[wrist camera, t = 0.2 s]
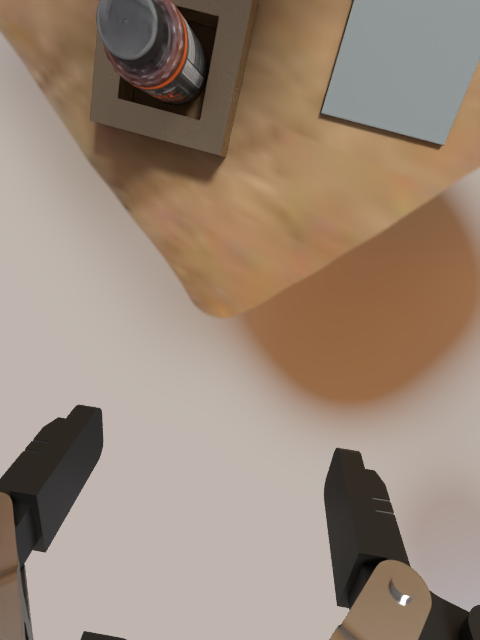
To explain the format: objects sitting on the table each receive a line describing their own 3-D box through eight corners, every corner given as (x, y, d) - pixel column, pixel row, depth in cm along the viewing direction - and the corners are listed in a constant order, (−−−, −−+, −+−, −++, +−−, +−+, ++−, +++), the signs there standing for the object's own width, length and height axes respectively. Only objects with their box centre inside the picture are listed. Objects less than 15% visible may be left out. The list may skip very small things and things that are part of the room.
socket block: (120, -32, 32) (103, -51, 29) (258, 4, 31) (255, -13, 29) (105, 124, 36) (89, 120, 33) (225, 157, 36) (220, 155, 33)
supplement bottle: (145, 105, 35) (82, 75, 25) (143, 27, 33) (73, -42, 23) (208, 108, 35) (171, 79, 24) (210, 29, 32) (171, -41, 22)
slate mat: (366, -43, 29) (367, -45, 29) (505, -8, 29) (508, -10, 29) (321, 113, 34) (321, 112, 33) (442, 145, 33) (444, 145, 33)
